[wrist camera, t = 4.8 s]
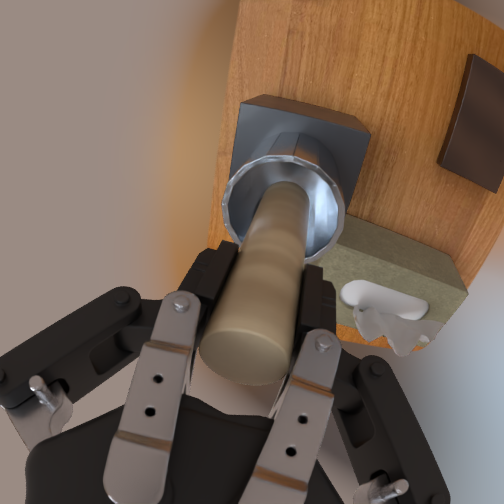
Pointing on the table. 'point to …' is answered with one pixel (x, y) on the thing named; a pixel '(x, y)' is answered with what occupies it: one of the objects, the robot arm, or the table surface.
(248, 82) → the table surface
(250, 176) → the tin
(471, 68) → the board
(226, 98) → the table surface
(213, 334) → the stick
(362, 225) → the tissue box
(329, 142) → the stand
